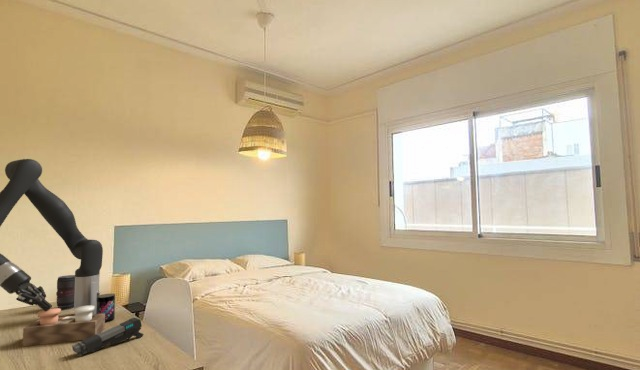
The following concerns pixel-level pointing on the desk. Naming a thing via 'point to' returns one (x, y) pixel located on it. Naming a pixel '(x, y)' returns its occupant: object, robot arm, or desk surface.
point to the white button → (83, 313)
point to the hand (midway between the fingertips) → (49, 308)
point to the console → (63, 330)
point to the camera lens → (65, 292)
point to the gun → (109, 337)
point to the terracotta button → (49, 316)
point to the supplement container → (106, 306)
